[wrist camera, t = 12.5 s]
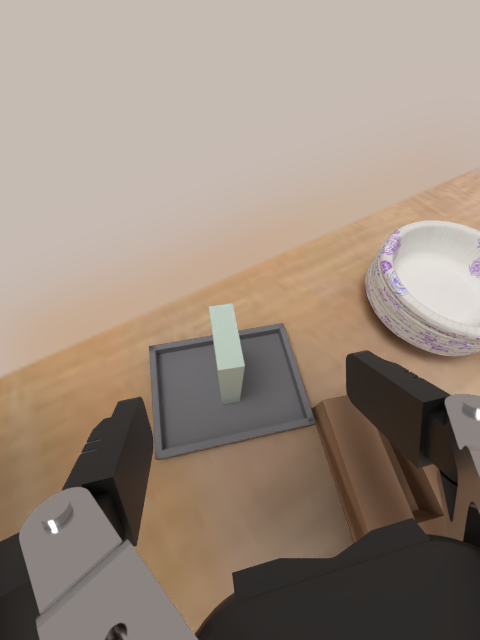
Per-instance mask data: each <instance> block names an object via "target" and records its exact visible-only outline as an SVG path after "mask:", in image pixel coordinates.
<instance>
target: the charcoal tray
mask: <svg viewBox="0 0 480 640" xmlns="http://www.w3.org/2000/svg"><path fill="white" fill-rule="evenodd" d="M238 334H239V339H240V344H241V349H242V354H243V359H244V364H245V368H244V375H243V382H242V389H241V396H240V402H234V403H229V404H223V405H222V400H221V393H220V386H219V379H218V372H217V365H216V358H215V350H214V343H213V335H211V336H206V337H200V338H194V339H189V340H183V341H177V342H171V343H166V344H160V345H154V346H149V353H150V371H151V389H152V406H153V424H154V442H155V459H156V460H161V459H166V458H170V457H175V456H179V455H183V454H188V453H192V452H196V451H201V450H205V449H210V448H214V447H218V446H223V445H227V444H232V443H236V442H240V441H245V440H249V439H253V438H258V437H262V436H267V435H271V434H275V433H280V432H284V431H289V430H293V429H297V428H302V427H306V426H311V425H313V424H315V419H314V416H313V413H312V410H311V407H310V404H309V401H308V398H307V395H306V392H305V389H304V385H303V382H302V379H301V376H300V373H299V370H298V367H297V364H296V361H295V358H294V355H293V351H292V348H291V345H290V342H289V339H288V336H287V333H286V330H285V327H284V324H283V323H280V324H275V325H269V326H263V327H257V328H252V329H246V330H240V331H238Z"/></svg>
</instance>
